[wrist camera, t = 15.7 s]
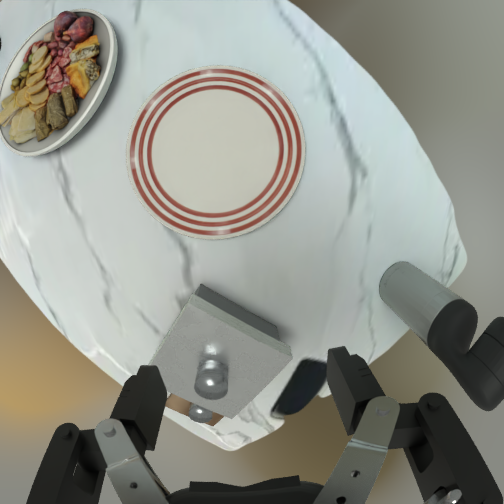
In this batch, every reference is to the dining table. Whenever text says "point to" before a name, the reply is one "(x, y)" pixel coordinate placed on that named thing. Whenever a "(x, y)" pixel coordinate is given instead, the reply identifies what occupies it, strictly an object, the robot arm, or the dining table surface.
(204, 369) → the cylinder
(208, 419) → the cylinder
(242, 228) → the dinner plate
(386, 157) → the dining table surface
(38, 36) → the bowl
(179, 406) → the walnut board
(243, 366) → the pan
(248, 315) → the scale
